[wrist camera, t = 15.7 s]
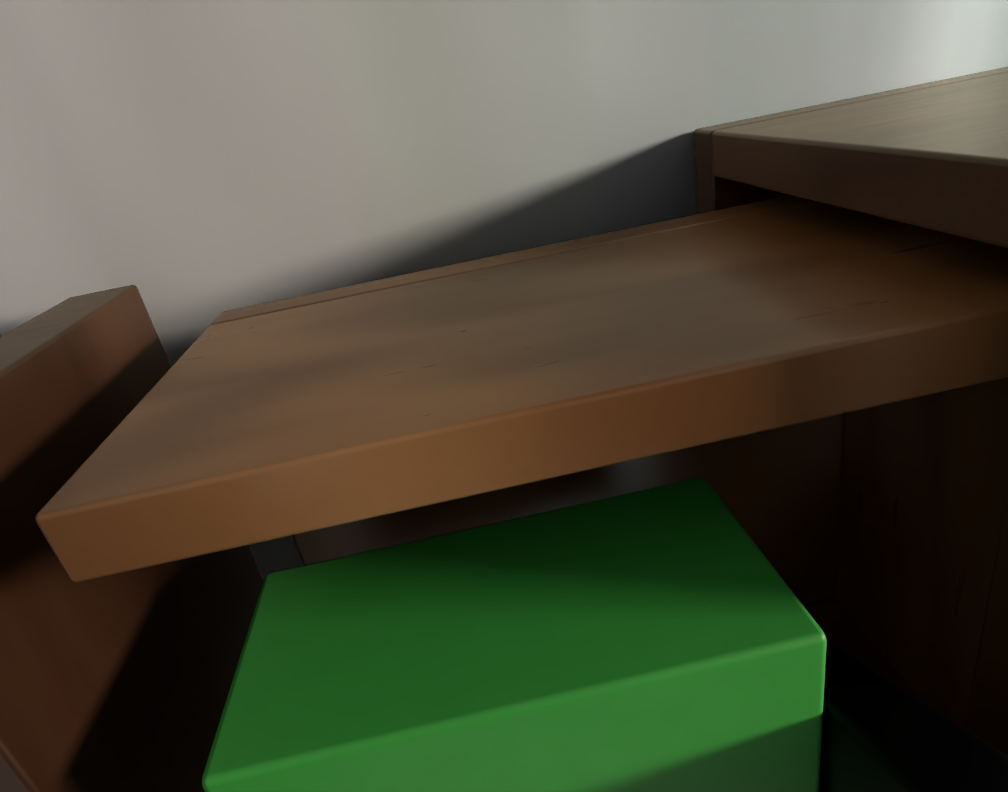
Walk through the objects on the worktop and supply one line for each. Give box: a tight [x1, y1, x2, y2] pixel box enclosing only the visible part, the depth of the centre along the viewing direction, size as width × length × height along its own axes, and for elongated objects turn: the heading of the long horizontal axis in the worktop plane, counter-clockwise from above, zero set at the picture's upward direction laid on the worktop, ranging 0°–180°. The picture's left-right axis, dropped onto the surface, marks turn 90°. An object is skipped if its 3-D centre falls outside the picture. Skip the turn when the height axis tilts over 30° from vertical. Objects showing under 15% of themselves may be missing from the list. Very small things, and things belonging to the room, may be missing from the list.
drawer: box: [0, 195, 1008, 792], centre depth 11 cm, size 20×11×7 cm, turn 100°
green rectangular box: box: [202, 478, 827, 792], centre depth 9 cm, size 4×6×3 cm, turn 100°
